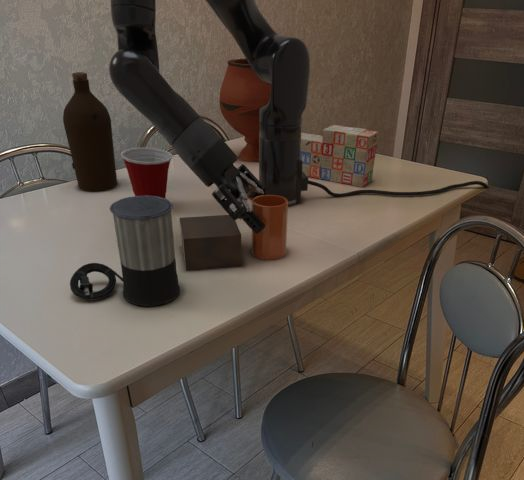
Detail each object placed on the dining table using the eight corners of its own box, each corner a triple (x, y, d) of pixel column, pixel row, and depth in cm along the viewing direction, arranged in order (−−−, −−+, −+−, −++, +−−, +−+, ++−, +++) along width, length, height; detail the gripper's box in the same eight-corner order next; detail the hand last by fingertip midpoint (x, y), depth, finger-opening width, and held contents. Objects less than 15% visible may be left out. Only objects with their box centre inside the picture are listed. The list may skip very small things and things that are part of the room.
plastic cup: (167, 218, 115) (161, 161, 108) (120, 214, 116) (112, 157, 109) (183, 201, 123) (179, 147, 116) (139, 197, 125) (132, 144, 118)
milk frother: (191, 297, 86) (184, 208, 78) (97, 326, 79) (78, 231, 70) (152, 265, 96) (142, 183, 87) (65, 289, 88) (45, 201, 80)
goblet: (301, 157, 155) (305, 60, 141) (255, 171, 143) (255, 67, 129) (254, 145, 166) (254, 54, 151) (207, 157, 154) (203, 59, 140)
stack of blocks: (288, 173, 142) (290, 124, 135) (299, 167, 146) (301, 120, 139) (363, 187, 133) (369, 135, 126) (372, 181, 137) (379, 130, 130)
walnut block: (233, 244, 104) (232, 214, 100) (241, 266, 96) (241, 234, 92) (182, 247, 102) (179, 217, 99) (186, 270, 94) (183, 238, 91)
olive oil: (128, 182, 135) (113, 71, 120) (103, 194, 126) (84, 78, 112) (93, 177, 138) (74, 68, 124) (66, 189, 130) (43, 74, 115)
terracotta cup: (281, 244, 104) (283, 193, 98) (289, 258, 99) (291, 205, 93) (249, 246, 103) (249, 195, 97) (255, 260, 98) (255, 207, 92)
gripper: (204, 147, 85) (272, 223, 90) (230, 128, 97) (289, 196, 101) (176, 178, 89) (242, 249, 94) (204, 156, 101) (262, 220, 105)
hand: (267, 221), depth 97 cm, fingers open, 8 cm apart
